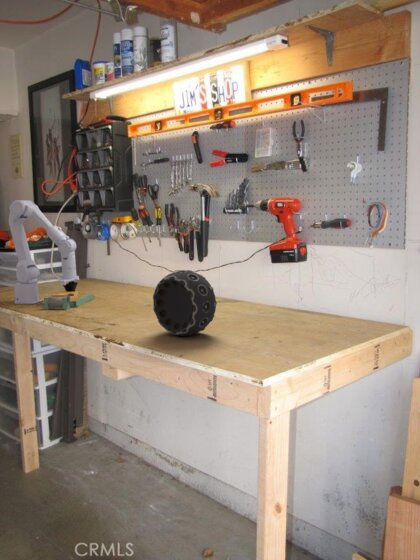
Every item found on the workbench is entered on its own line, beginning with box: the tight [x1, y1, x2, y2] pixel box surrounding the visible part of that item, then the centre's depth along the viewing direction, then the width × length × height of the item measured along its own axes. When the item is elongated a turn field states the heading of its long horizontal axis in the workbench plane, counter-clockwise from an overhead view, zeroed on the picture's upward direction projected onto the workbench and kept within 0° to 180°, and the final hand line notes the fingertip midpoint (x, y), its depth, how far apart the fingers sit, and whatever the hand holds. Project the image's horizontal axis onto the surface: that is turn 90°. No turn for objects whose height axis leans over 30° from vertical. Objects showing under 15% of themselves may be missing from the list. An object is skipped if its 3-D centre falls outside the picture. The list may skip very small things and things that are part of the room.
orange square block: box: [51, 290, 80, 301], centre depth 214 cm, size 8×8×5 cm
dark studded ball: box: [152, 269, 218, 337], centre depth 157 cm, size 11×20×20 cm, turn 51°
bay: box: [43, 292, 95, 311], centre depth 215 cm, size 14×24×6 cm, turn 171°
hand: (71, 299), depth 218 cm, fingers closed
